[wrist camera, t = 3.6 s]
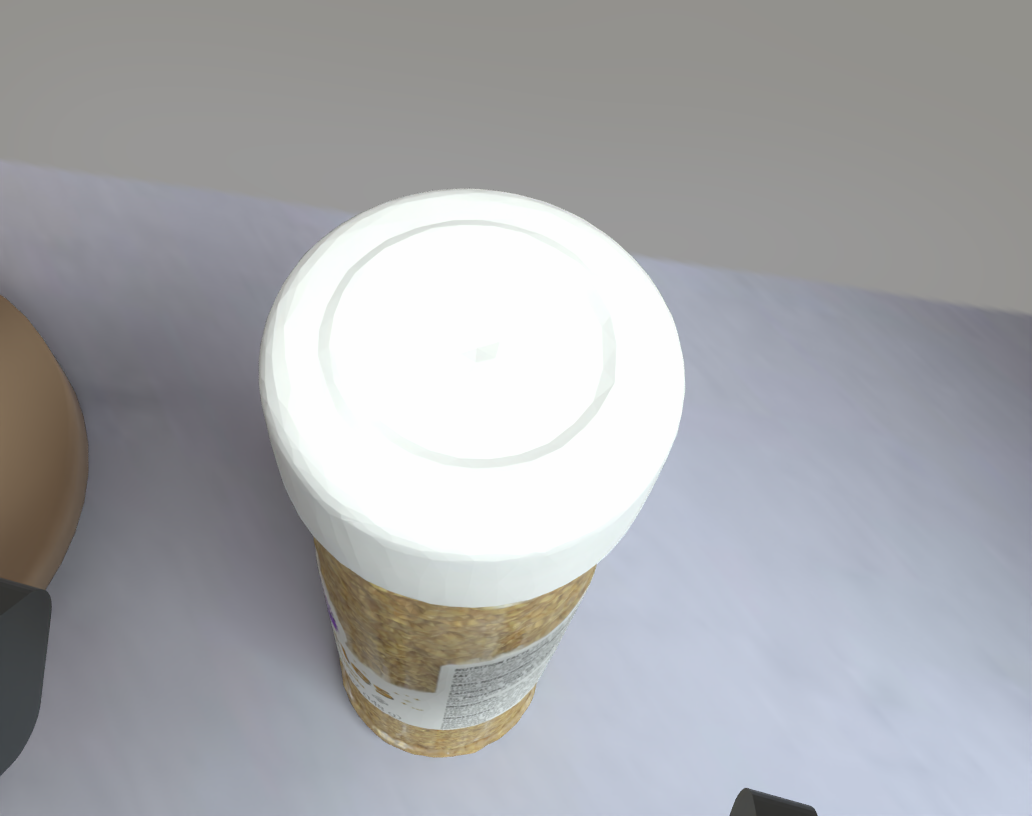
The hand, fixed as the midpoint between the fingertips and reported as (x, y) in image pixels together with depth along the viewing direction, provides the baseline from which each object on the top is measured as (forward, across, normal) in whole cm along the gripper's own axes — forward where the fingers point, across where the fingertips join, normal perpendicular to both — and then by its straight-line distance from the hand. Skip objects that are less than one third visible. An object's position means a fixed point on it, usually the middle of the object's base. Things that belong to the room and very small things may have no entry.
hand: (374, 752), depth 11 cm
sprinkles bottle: (+10, 0, +5) cm, 11 cm away
